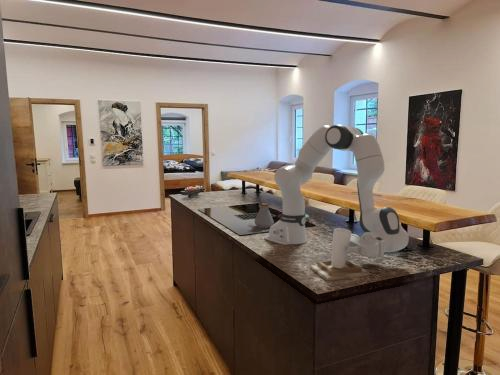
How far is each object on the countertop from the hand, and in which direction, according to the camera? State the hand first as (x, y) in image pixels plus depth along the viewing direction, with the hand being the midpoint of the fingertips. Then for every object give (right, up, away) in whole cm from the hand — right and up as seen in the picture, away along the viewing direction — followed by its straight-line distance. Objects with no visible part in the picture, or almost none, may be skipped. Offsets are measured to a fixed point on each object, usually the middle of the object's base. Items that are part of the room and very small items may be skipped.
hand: (340, 246), depth 142 cm
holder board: (0, -10, +1) cm, 10 cm away
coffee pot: (-27, 0, +79) cm, 83 cm away
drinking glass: (0, -9, +2) cm, 9 cm away
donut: (-4, +2, +88) cm, 88 cm away
